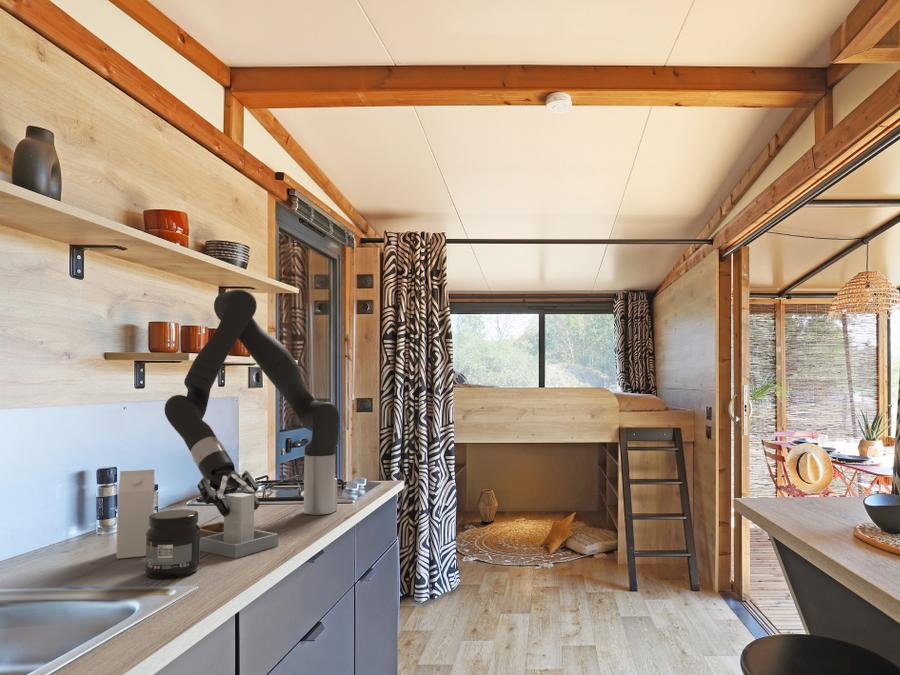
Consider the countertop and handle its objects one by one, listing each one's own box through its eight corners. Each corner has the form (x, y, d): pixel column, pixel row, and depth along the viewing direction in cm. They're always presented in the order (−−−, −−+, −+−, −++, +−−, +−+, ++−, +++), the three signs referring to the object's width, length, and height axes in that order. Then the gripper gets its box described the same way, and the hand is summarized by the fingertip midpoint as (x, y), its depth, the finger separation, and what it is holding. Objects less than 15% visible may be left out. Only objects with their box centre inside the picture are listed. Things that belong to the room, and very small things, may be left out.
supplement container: (188, 561, 139) (189, 506, 139) (207, 572, 131) (209, 514, 132) (137, 572, 131) (138, 513, 132) (154, 584, 124) (156, 522, 124)
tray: (243, 538, 159) (243, 527, 159) (278, 545, 152) (278, 533, 152) (199, 550, 148) (199, 538, 148) (235, 558, 141) (235, 545, 141)
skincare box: (254, 545, 150) (255, 494, 151) (240, 549, 146) (241, 497, 147) (236, 541, 153) (237, 492, 154) (222, 545, 149) (223, 494, 150)
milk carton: (118, 551, 147) (121, 469, 148) (152, 548, 150) (154, 467, 151) (116, 559, 140) (118, 473, 142) (151, 556, 143) (153, 471, 144)
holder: (220, 531, 167) (220, 521, 167) (248, 536, 161) (248, 526, 161) (190, 538, 159) (190, 528, 159) (218, 544, 153) (218, 534, 153)
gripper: (194, 452, 150) (225, 506, 143) (242, 446, 162) (273, 496, 155) (180, 473, 152) (209, 527, 145) (228, 466, 164) (258, 515, 157)
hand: (242, 511), depth 150 cm, fingers open, 8 cm apart
